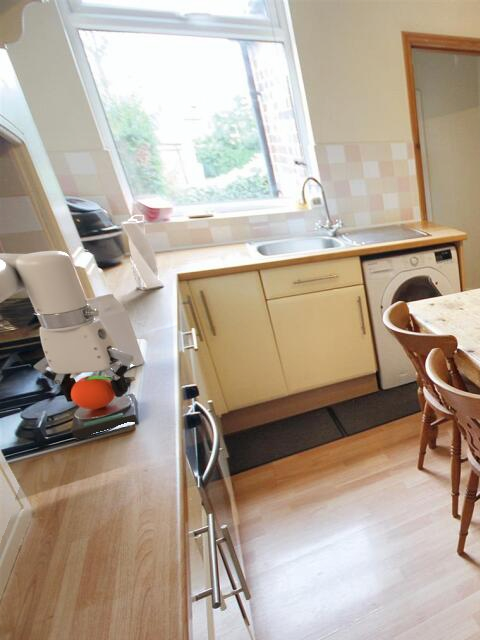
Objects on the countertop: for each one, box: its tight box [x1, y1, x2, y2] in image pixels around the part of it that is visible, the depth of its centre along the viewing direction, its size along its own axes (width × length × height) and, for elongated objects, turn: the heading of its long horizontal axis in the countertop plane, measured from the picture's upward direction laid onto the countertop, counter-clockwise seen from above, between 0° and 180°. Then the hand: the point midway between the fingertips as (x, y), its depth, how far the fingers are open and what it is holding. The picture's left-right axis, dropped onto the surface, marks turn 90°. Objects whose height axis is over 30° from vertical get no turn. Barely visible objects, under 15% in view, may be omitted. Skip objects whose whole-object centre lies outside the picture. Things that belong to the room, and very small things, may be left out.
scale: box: [70, 392, 140, 439], centre depth 97 cm, size 11×10×3 cm
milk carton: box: [87, 292, 146, 367], centre depth 117 cm, size 7×7×19 cm
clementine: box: [71, 374, 115, 409], centre depth 96 cm, size 8×7×7 cm
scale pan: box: [75, 394, 132, 422], centre depth 97 cm, size 9×9×1 cm
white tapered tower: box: [120, 213, 165, 292], centre depth 180 cm, size 8×8×28 cm
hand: (98, 395), depth 96 cm, fingers closed on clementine, 8 cm apart
